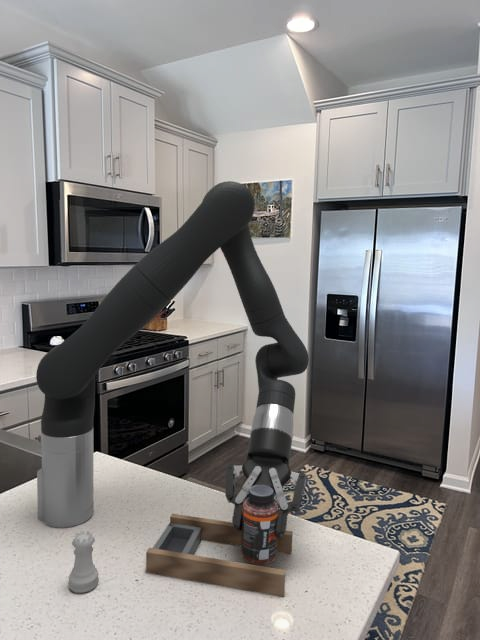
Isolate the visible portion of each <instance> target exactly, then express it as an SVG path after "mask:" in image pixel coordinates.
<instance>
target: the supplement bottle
mask: <svg viewBox="0 0 480 640" xmlns="http://www.w3.org/2000/svg"><path fill="white" fill-rule="evenodd" d="M274 494H275V493H274V491H273V489H272V488H271V487H269V486H266V485H254V486H252V487H250V489H249V495H248V496H249V498H247V499H246V500H245V501H244V503H243V507H242V528H241V546H240V554H241V557H242V558H243V559H244V560H246V561H247V562H249V563H251V564H252V565H265V564H267V565H268V564H270V563H271V562H272V561H274V560H275V559H276V557H277V553H278V552H277V537H276V528H277V519H278V511H279V510H280V506H279V503H278V501H277V500H275V499H274Z"/></svg>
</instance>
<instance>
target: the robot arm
mask: <svg viewBox="0 0 480 640" xmlns="http://www.w3.org/2000/svg"><path fill="white" fill-rule="evenodd" d="M255 206H256V205H255V198H254V195H253V194H252V191H251V190H250V189H249V188H248V187H247V186H246V185H244V184H243V183H240V182H237V181H230V180H229V181H223V182H219V183H217V184H216V185H214V186H212V187H211V188H210V189H209V190H208V191H207V192H206V194H205V195H204V197H203V199H202V202H201V203H200V204H199V205H198V207H197V208H196V209H195V210H194V211H193V212H192V214H191V215H190V217H189V218H188V219H187V220H186V221H185V222H184V223H183V224H182V225H181V227H179V228H178V229H177V230H175V232H174V233H172V234H171V235H170V236H169V237H167V238H166V239H164V240H163V241H162V242H161V243H159V244H157V245H156V246H155V247H154V248H153V249H151V250H150V251H149V252H147V254H146V255H144V257H142V258H141V259H140V260H139V261H137V262H136V264H135V265H134V266H132V267H131V268H130V270H129V271H128V272H126V273H125V274H124V275H123V277H121V279H120V280H119V281H118V282H117V283H116V284H115V285H114V286H113V288H112V289H111V290H110V291H109V292H108V293H107V294H106V296H105V297H104V298H103V300H102V301H101V302H100V303H99V304H98V306H97V307H96V309H95V310H94V311H93V312H92V314H91V315H90V316H89V318H88V319H87V320H86V321H85V322H84V323H83V324H82V325H81V326H80V327H79V328H78V329H77V330H75V331H74V332H73V333H72V334H71V335H69V337H67V338H66V339H65V340H63V341H62V342H61V343H59V344H57V345H56V346H54V347H52V349H50V350H49V351H48V352H47V353H46V354H44V356H43V357H42V358H41V359H40V361H39V363H38V365H37V368H36V376H35V377H36V383H37V387H38V388H39V390H40V391H41V392H42V394H43V395H44V402H43V403H44V404H43V410H42V414H41V418H40V430H41V432H40V433H41V436H40V437H41V468H39V469H38V470H37V472H36V483H37V484H36V489H37V520H41V521H43V523H44V524H45V525H47V526H49V527H52V528H53V527H54V528H70V527H75V526H77V525H81V524H83V523H85V522H87V521H88V520H89V519H91V517H92V516H93V515H94V503H95V502H94V415H95V408H96V397H95V396H96V375H97V373H98V372H99V370H100V369H101V368H103V366H104V365H105V364H106V362H107V361H108V359H109V358H111V357H112V355H113V354H114V353H115V352H116V351H117V350H118V349H119V348H121V347H122V346H123V345H124V344H125V343H127V341H129V340H130V339H132V337H134V336H135V335H136V334H137V333H139V332H140V331H141V330H142V329H143V328H144V327H146V326H147V324H149V323H150V322H151V321H152V320H153V319H154V318H155V317H156V316H158V315H159V314H160V313H161V311H163V310H164V309H165V308H166V307H167V305H169V304H170V303H171V302H172V300H173V299H174V298H175V297H176V296H177V295H178V294H179V293H180V292H181V291H182V290H183V288H185V286H186V285H187V284H188V282H190V281H191V279H192V278H193V276H195V274H196V273H197V271H199V269H200V268H201V267H202V266H203V264H204V263H205V262H206V261H207V260H208V259H209V258H211V256H212V255H213V254H214V253H216V251H217V250H221V252H222V254H223V257H224V258H225V261H226V263H227V265H228V267H229V271H230V273H231V275H232V277H233V281H234V284H235V286H236V289H237V290H236V291H237V292H238V295H239V298H240V301H241V303H242V306H243V309H244V312H245V314H246V317H247V320H248V323H249V325H250V327H251V330H252V333H254V335H255V336H258V337H261V338H262V337H264V338H266V337H267V338H271V339H273V340H274V341H276V342H274V343H273V342H272V343H268V344H265V345H262V346H261V347H260V348H259V349H258V351H257V352H256V355H255V358H254V359H255V361H254V362H255V368H256V374H257V375H256V376H257V385H258V386H257V387H258V395H257V401H256V409H255V413H254V415H253V419H252V422H251V430H250V433H249V434H250V437H249V442H248V448H247V452H246V453H247V455H246V459H245V461H244V463H242V464H241V465H234V464H233V463H232V462H229V463H227V464H226V472H225V474H226V476H225V493H224V494H225V495H224V496H225V497H226V500H227V503H231V504H233V505H234V507H233V508H234V509H233V515H232V521H231V522H232V523H233V526H234V527H235V529H236V531H239V532H241V527H242V507H243V503H244V501H245V500H246V499H247V498H249V496H248V495H249V489H250V487H252V486H254V485H266V486H269V487H271V488H272V489H273V491H274V493H273V494H275V498H276V501H277V504H278V507H279V511H278V519H277V528H276V537H279V538H281V534H285V532H286V531H287V525H288V524H287V522H288V515H289V514H290V513H292V512H293V513H294V512H295V513H298V512H300V509H301V504H302V500H303V497H304V492H305V486H306V483H307V474H306V473H305V472H304V471H301V472H295V471H292V470H291V467H290V462H291V452H292V443H293V438H294V414H295V413H294V412H295V411H294V410H295V403H296V389H295V387H294V386H293V385H292V383H290V382H288V381H286V380H283V379H280V378H285V377H291V376H296V375H300V374H303V373H304V372H305V371H306V370H307V369H308V366H309V361H310V359H309V353H308V350H307V348H306V345H305V344H304V342H303V340H301V338H300V337H299V335H298V334H297V333H296V331H295V330H294V328H293V326H292V325H291V323H290V322H289V321H288V319H287V317H286V316H285V313H284V312H285V311H284V310H283V306H282V305H281V301H280V297H278V296H279V295H278V293H277V291H276V289H275V285H274V284H273V281H272V279H271V278H270V276H269V274H268V272H267V270H266V268H265V267H264V265H263V263H262V261H261V259H260V257H259V255H258V252H257V251H256V247H255V245H254V242H253V239H252V235H251V231H250V227H249V224H250V222H251V221H252V219H253V216H254V213H255ZM241 473H243V476H244V477H245V480H246V481H245V482H244V483H243V485H242V487H241V490H240V491H239V492H238V494H236V493H235V490H236V480H237V479H239V478H240V474H241ZM290 479H291V480H292V485H293V487H295V489H294V493H293V496H292V501H287V498H286V496H285V493H284V489H283V487H284V486H285V485H286V483H288V482H289V480H290Z"/></svg>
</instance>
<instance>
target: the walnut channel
mask: <svg viewBox="0 0 480 640" xmlns="http://www.w3.org/2000/svg"><path fill="white" fill-rule="evenodd" d="M169 523H175V524H181V525H188V526H194V527H201V528H202V531H201V541H206V542H210V543H211V542H212V543H217V544H222V545H223V544H224V545H230V546H237V547H241V532H239V531H236V529H235V527H234V526H233V523H232V521H224V520H217V519H211V518H205V517H200V516H199V517H196V516H190V515H186V514H179V513H171V515H170V517H169ZM241 528H242V527H241ZM293 533H294V532H293V531H292V530H286V532H285V534H281V538H279V537H277V552H276V553H280V554H286V555H292V552H293V549H292V548H293ZM145 552H146V553H145V573H146V574H153V575H157V576H158V575H159V576H163V577H170V578H175V579H181V580H187V581H192V582H196V583H197V582H198V583H203V584H207V585H208V584H209V585H214V586H220V587H226V588H230V587H231V588H232V589H236V590H242V591H248V592H249V591H250V592H253V593H259V594H266V595H271V596H277V597H282V598H284V597H285V589H286V571H287V570H286V569H281V568H280V569H279V568H273V567H268V566H262V565H258V564H252V563H251V564H249V563H245V562H238V561H234V560H233V561H231V560H226V559H219V558H215V557H208V556H202V555H197V554H194V555H191V554H185V553H179V552H173V551H166V550H160V549H154V548H153V547H148V548H147V550H146V551H145Z"/></svg>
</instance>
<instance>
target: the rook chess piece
mask: <svg viewBox="0 0 480 640" xmlns="http://www.w3.org/2000/svg"><path fill="white" fill-rule="evenodd" d="M95 541H96V540H95V537H94V536H93V532H91V531H90V530H87V531H86V533H85V530H81V531H80V533H79V532H77V533H76V534H75V536H74V538H73V540H72V542H71V545H72V546H73V548H74V550H73V555H74V564H73V567H72V569H71V571H70V573H69V576H68V582H67V584H68V585H67V586H68V588H69V589H70V591H72V592H73V593H75V594H76V593H77V594H85V593H88V592H90V591H92V590H93V589H94V588H96V586H98V583H99V582H100V581H99V580H100V578H99V570H98V569H97V568H96V566H95V564H94V561H93V551H94V547H93V545H94V543H95Z"/></svg>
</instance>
